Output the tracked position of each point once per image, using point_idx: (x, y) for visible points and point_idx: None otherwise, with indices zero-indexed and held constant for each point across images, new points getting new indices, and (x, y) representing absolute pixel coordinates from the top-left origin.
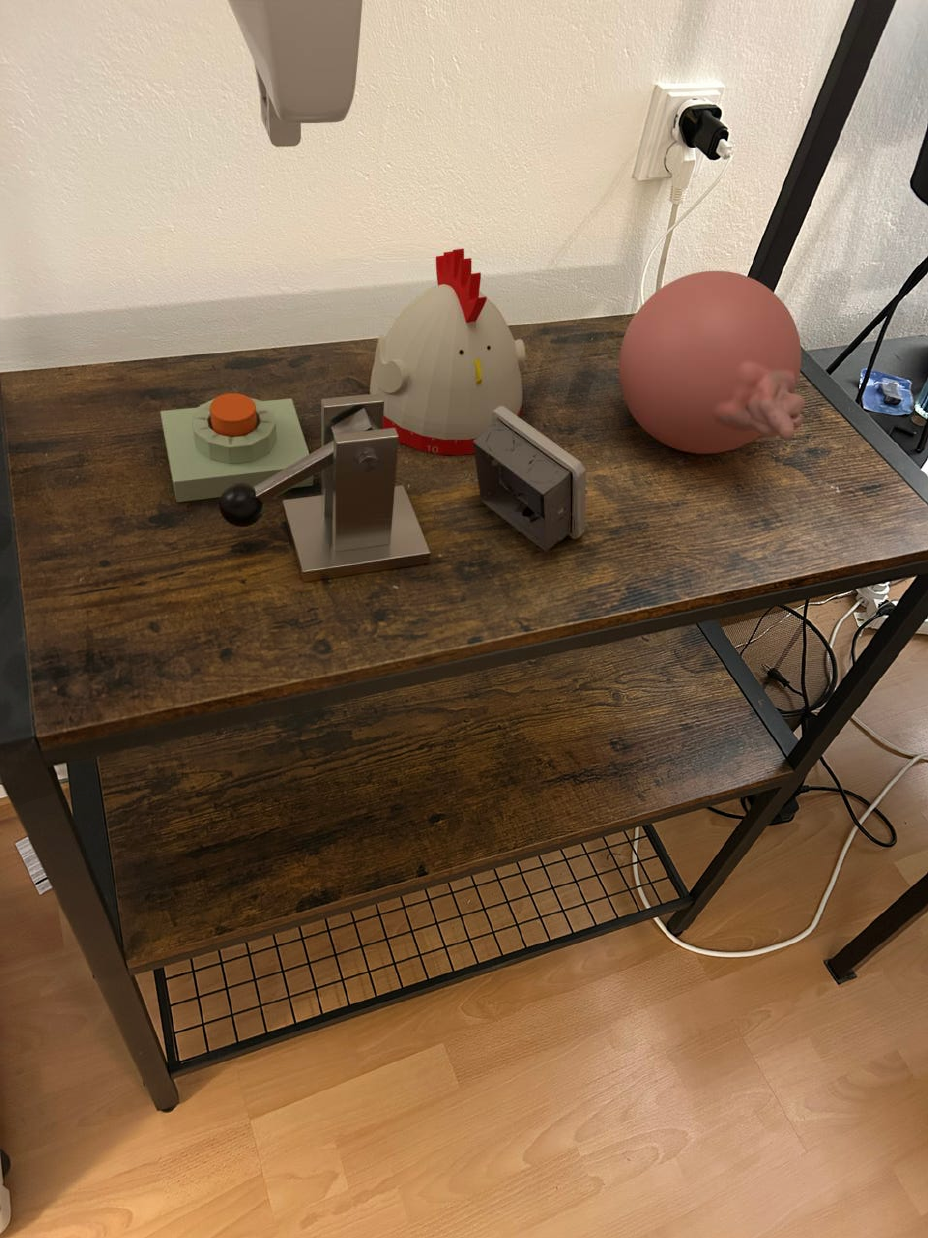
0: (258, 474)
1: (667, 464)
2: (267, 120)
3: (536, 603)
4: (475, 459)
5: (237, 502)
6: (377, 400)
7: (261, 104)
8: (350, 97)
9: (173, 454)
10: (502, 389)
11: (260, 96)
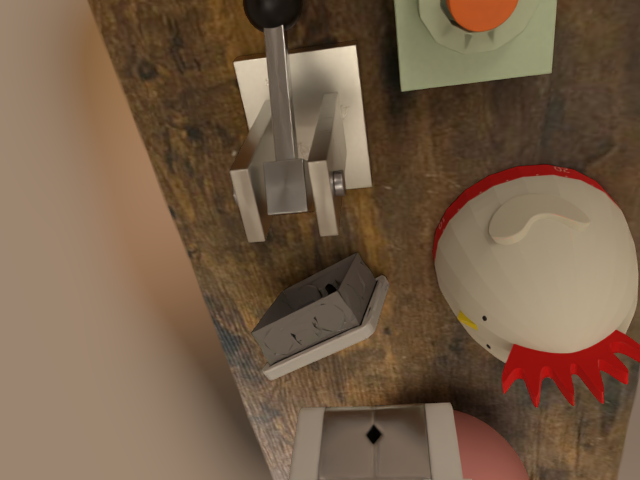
0: (395, 17)
1: (394, 404)
2: (329, 449)
3: (218, 269)
4: (344, 278)
5: (249, 2)
6: (320, 229)
7: (436, 452)
8: None
9: None
10: (463, 326)
11: (448, 472)
